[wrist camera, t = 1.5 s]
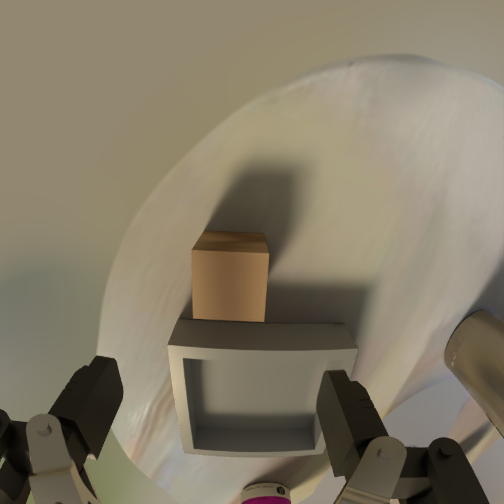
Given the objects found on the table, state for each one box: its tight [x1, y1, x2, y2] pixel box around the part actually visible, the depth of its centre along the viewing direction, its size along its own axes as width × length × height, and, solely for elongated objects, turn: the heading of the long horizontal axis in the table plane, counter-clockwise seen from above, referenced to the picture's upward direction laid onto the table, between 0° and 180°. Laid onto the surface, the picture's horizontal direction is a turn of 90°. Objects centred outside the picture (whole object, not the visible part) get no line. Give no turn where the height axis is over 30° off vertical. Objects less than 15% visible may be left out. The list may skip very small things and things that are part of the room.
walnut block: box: [192, 231, 269, 322], centre depth 22 cm, size 5×5×6 cm
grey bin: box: [167, 319, 359, 457], centre depth 27 cm, size 16×16×4 cm
